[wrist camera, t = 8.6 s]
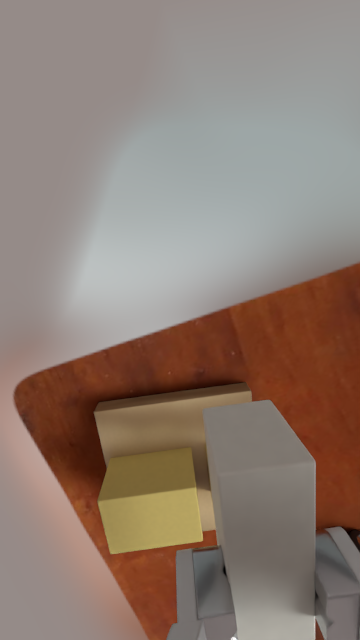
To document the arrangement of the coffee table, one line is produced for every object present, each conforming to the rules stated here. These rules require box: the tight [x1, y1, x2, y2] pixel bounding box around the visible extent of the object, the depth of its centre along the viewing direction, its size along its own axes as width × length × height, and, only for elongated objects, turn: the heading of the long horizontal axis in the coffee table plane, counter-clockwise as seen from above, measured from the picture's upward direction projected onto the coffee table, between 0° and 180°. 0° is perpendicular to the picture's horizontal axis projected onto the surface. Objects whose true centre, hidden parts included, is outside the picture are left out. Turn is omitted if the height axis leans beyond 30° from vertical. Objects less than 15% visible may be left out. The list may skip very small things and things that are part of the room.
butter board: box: [94, 382, 252, 531], centre depth 23 cm, size 14×13×2 cm
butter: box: [97, 447, 203, 554], centre depth 20 cm, size 5×7×4 cm
